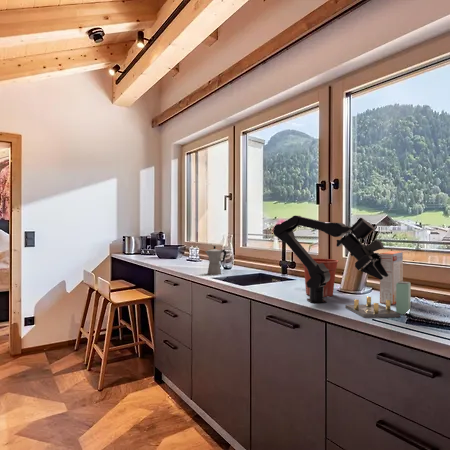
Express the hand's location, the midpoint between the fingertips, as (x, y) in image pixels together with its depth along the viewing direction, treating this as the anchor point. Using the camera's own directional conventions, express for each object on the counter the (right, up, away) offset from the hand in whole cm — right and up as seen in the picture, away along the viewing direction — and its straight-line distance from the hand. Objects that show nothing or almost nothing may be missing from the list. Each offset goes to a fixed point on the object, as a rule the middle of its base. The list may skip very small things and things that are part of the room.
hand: (384, 277), depth 140 cm
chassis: (-6, -12, -3) cm, 14 cm away
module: (+5, -12, -4) cm, 14 cm away
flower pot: (-17, -12, +31) cm, 38 cm away
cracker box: (+10, -13, +17) cm, 23 cm away
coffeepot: (-66, -12, +101) cm, 122 cm away
